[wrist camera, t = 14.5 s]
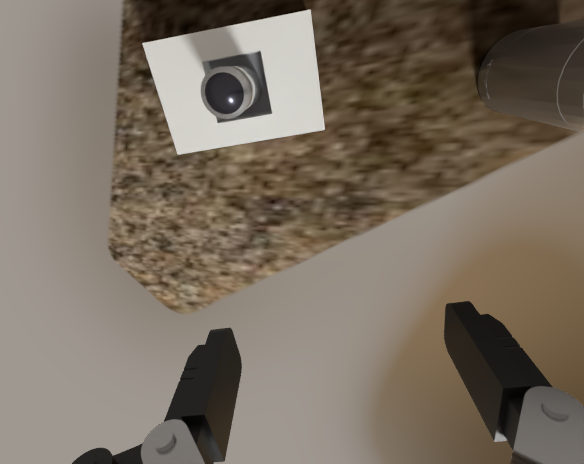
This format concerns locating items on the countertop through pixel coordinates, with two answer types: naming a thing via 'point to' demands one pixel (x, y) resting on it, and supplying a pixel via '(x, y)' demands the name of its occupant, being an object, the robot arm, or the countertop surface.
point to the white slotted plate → (240, 52)
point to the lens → (230, 90)
